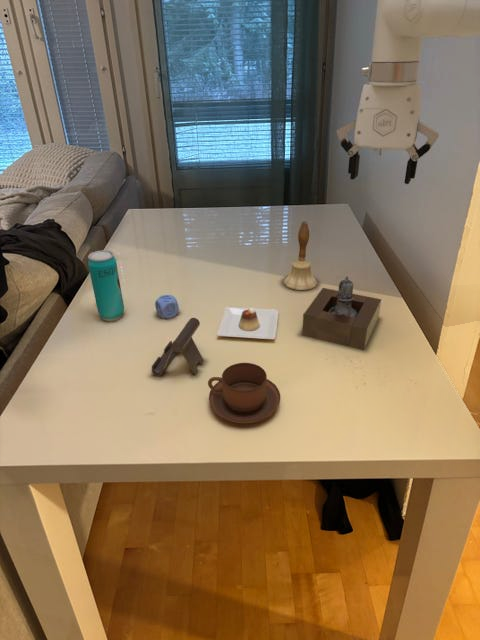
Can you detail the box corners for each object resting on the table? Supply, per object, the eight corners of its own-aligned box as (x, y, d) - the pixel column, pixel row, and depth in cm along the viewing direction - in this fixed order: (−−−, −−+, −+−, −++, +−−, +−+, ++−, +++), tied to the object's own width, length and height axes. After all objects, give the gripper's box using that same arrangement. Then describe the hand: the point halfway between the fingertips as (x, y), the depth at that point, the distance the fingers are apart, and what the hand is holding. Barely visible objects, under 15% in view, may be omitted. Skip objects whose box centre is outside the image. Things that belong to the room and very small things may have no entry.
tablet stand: (171, 349, 94) (166, 313, 89) (207, 354, 92) (205, 318, 88) (152, 375, 87) (146, 337, 82) (191, 382, 85) (188, 344, 80)
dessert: (216, 339, 96) (215, 320, 94) (226, 310, 106) (225, 292, 104) (274, 343, 95) (275, 323, 92) (278, 313, 105) (279, 295, 102)
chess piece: (360, 332, 98) (367, 281, 91) (333, 336, 97) (339, 284, 90) (348, 318, 103) (354, 268, 96) (323, 321, 102) (327, 271, 95)
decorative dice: (172, 308, 108) (170, 292, 106) (179, 315, 105) (178, 299, 103) (156, 313, 106) (154, 297, 104) (163, 320, 103) (161, 304, 101)
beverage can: (128, 318, 104) (118, 256, 97) (103, 325, 102) (90, 262, 94) (120, 307, 109) (110, 247, 101) (96, 314, 106) (83, 253, 98)
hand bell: (298, 273, 123) (301, 214, 114) (323, 282, 118) (328, 222, 109) (277, 283, 118) (278, 222, 110) (302, 294, 113) (306, 231, 104)
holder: (378, 319, 102) (381, 299, 100) (364, 349, 92) (367, 328, 90) (321, 306, 107) (322, 287, 105) (302, 335, 97) (303, 314, 95)
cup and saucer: (213, 434, 73) (211, 404, 70) (206, 386, 84) (204, 358, 80) (287, 424, 75) (289, 395, 72) (271, 378, 85) (272, 351, 82)
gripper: (335, 76, 77) (328, 181, 86) (448, 76, 70) (427, 189, 79) (347, 73, 83) (339, 171, 91) (451, 73, 76) (432, 179, 85)
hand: (380, 180), depth 85 cm, fingers open, 9 cm apart
